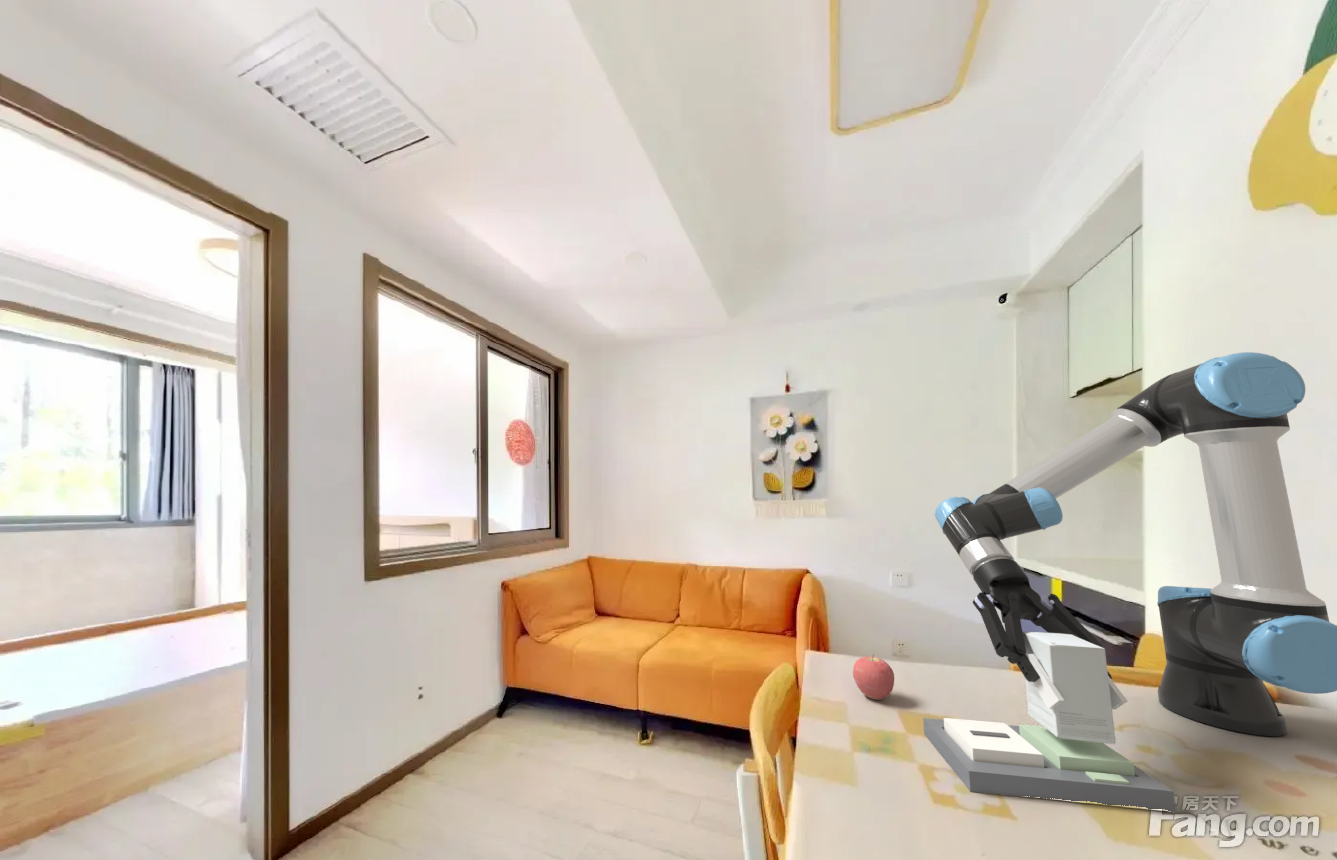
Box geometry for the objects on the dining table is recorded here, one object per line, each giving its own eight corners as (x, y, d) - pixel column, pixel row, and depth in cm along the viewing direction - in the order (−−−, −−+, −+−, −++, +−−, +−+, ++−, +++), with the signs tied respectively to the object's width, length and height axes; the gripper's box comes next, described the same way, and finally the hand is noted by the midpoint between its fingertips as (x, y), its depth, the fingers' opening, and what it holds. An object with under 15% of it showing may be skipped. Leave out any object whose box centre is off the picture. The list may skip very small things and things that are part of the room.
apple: (864, 686, 94) (862, 645, 95) (901, 698, 89) (898, 655, 90) (847, 696, 89) (845, 653, 90) (885, 709, 84) (883, 664, 85)
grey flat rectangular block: (1085, 748, 72) (1082, 720, 72) (1176, 813, 57) (1171, 776, 58) (924, 734, 75) (922, 707, 76) (970, 791, 60) (967, 757, 61)
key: (1084, 743, 69) (1082, 729, 70) (1135, 779, 61) (1133, 763, 61) (1020, 738, 71) (1018, 724, 71) (1060, 772, 62) (1059, 756, 62)
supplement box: (1118, 746, 62) (1107, 648, 64) (1056, 739, 63) (1047, 644, 65) (1081, 720, 69) (1072, 633, 71) (1026, 714, 71) (1019, 629, 72)
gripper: (1039, 582, 84) (1142, 717, 66) (928, 580, 84) (1001, 715, 66) (1062, 557, 80) (1179, 693, 62) (944, 555, 79) (1028, 692, 61)
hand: (1087, 705), depth 64 cm, fingers closed on supplement box, 8 cm apart
